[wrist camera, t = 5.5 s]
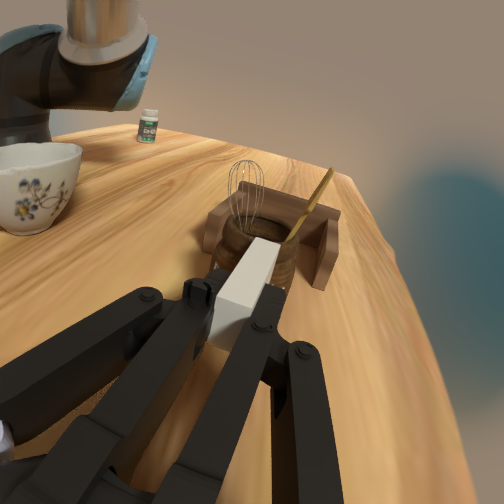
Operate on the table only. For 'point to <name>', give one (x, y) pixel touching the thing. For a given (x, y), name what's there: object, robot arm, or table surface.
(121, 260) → the table surface
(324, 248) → the walnut corral
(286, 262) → the utensil holder
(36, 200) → the teacup
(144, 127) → the pill bottle
